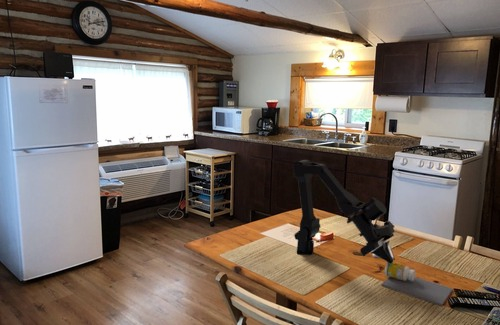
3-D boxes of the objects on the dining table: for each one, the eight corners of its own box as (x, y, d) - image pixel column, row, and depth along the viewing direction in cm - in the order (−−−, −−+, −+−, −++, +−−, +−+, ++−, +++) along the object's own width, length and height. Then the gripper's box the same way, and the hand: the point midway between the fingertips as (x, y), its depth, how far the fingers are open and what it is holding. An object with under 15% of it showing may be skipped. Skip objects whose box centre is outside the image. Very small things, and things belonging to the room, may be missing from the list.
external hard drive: (389, 249, 173) (393, 260, 161) (370, 247, 174) (373, 258, 162) (389, 245, 172) (393, 256, 160) (370, 243, 174) (373, 254, 162)
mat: (381, 285, 138) (381, 284, 138) (395, 272, 148) (395, 270, 148) (441, 306, 125) (441, 304, 125) (452, 290, 136) (452, 288, 136)
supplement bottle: (383, 275, 142) (410, 283, 136) (386, 260, 143) (413, 268, 137) (387, 275, 146) (413, 283, 141) (389, 261, 147) (416, 268, 141)
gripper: (371, 221, 135) (400, 260, 130) (391, 210, 149) (417, 244, 144) (348, 237, 141) (375, 275, 136) (369, 225, 155) (394, 258, 150)
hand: (392, 262), depth 142 cm, fingers closed
